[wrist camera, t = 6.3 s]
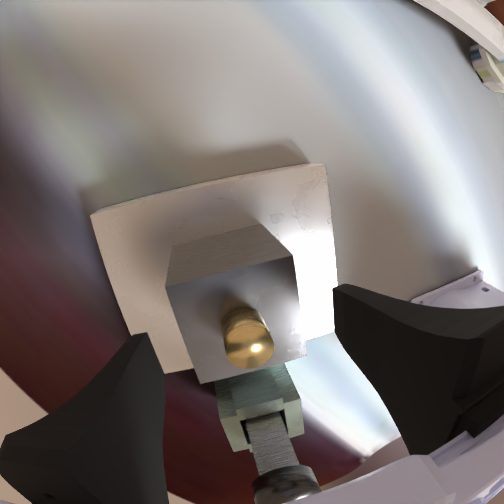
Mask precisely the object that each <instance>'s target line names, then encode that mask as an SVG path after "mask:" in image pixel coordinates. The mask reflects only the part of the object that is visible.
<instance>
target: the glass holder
mask: <svg viewBox="0 0 504 504" xmlns="http://www.w3.org/2000/svg"><path fill="white" fill-rule="evenodd" d="M476 1H477V2H478V3H479V4H480V5H482V6H483V7H485V5H486V4H487V3H488V2H490V1H494V0H476Z"/></svg>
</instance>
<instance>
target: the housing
mask: <svg viewBox="0 0 504 504" xmlns="http://www.w3.org/2000/svg"><path fill="white" fill-rule="evenodd" d="M165 289H166V292H167V295H168V298H169V301H170V304H171V307H172V310H173V313H174V316H175V319H176V322H177V324H178V327H179V330H180V333H181V335H182V338H183V341H184V343H185V346H186V349H187V351H188V354H189V357H190V359H191V362H192V364H193V367H194V369H195V372H196V374H197V377H198V379H199V382H200V384H202V383H207V382H211V381H216V380H220V379H224V378H228V377H233V376H237V375H241V374H244V373H248V372H252V371H256V370H260V369H263V368H267V367H270V366H274V365H277V364H281V363H284V362H288V361H291V360H294V359H297V358H301V357H304V356H307V353H306V345H305V337H304V329H303V321H302V313H301V306H300V298H299V291H298V284H297V277H296V270H295V263H294V257H293V254H292V253H291V252H290V251H289V250H288V249H287V248H286V247H285V246H284V245H283V244H282V243H281V242H280V241H279V240H278V239H277V238H276V237H275V236H274V235H272V234H271V233H270V232H269V231H268V230H267V229H266V228H265V227H264V226H263V225H262V224H258V225H254V226H249V227H245V228H241V229H237V230H233V231H228V232H224V233H220V234H216V235H212V236H208V237H204V238H200V239H196V240H192V241H188V242H184V243H180V244H176V245H172V250H171V255H170V260H169V266H168V271H167V277H166V283H165Z"/></svg>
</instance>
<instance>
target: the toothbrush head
mask: <svg viewBox="0 0 504 504" xmlns="http://www.w3.org/2000/svg"><path fill="white" fill-rule="evenodd" d="M414 1H415V2H417V3H419V4H421V5H422V6H424V7H426V8H428V9H429V10H431V11H433V12H434V13H436V14H437V15H439V16H441V17H442V18H444V19H445V20H447V21H448V22H450V23H451V24H453V25H454V26H456V27H457V28H458V29H460V30H461V31H463V32H464V33H465V34H467V35H468V36H470V37H471V38H472V39H474V40H475V42H474V43H473V44H471V45H470V59H471V62H472V65H473V68H474V70H476V71H477V73H478V74H479V75H480V77H481V78H482V80H483V81H482V84H484V85H485V86H486V87H487V88H489V89H490V90H491V91H492V92H501V93H504V26H503V25H502V24H501V23H500V22H499V21H498V20H497V19H496V18H495V17H494V16H493V15H491V14H490V13H489V12H488V11H487V10H486V9H485V8H484V7H483V6H482V5H480V4H479V3H478V2H477V1H476V0H414Z"/></svg>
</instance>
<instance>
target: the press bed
mask: <svg viewBox="0 0 504 504" xmlns="http://www.w3.org/2000/svg"><path fill="white" fill-rule="evenodd" d="M90 218H91V221H92V225H93V228H94V232H95V235H96V239H97V242H98V245H99V249H100V252H101V255H102V258H103V261H104V264H105V268H106V271H107V273H108V276H109V279H110V282H111V285H112V288H113V291H114V293H115V296H116V299H117V301H118V304H119V307H120V309H121V312H122V314H123V317H124V320H125V322H126V324H127V327H128V329H129V332H130V334H131V336H132V335H134V334H139V333H144V332H147V333H148V335H149V338H150V340H151V343H152V345H153V348H154V350H155V353H156V355H157V357H158V360H159V362H160V364H161V367H162V369H163V371H164V374H165V373H171V372H176V371H181V370H186V369H192V368H194V367H193V364H192V362H191V359H190V357H189V354H188V351H187V349H186V346H185V343H184V341H183V338H182V335H181V333H180V330H179V327H178V324H177V322H176V319H175V316H174V313H173V310H172V307H171V304H170V301H169V298H168V295H167V292H166V289H165V283H166V277H167V271H168V266H169V260H170V255H171V250H172V245H176V244H180V243H184V242H188V241H192V240H196V239H200V238H204V237H208V236H212V235H216V234H220V233H224V232H228V231H233V230H237V229H241V228H245V227H249V226H254V225H258V224H262V225H263V226H264V227H265V228H266V229H267V230H268V231H269V232H270V233H271V234H272V235H274V236H275V237H276V238H277V239H278V240H279V241H280V242H281V243H282V244H283V245H284V246H285V247H286V248H287V249H288V250H289V251H290V252H291V253H292V254H293V257H294V263H295V270H296V277H297V284H298V291H299V298H300V306H301V313H302V321H303V329H304V337H305V340H307V339H311V338H314V337H317V336H321V335H324V334H327V333H330V332H333V331H334V318H333V300H332V288H333V287H336V286H337V276H336V262H335V249H334V238H333V227H332V217H331V208H330V199H329V190H328V182H327V174H326V167H325V164H317V163H307V164H301V165H294V166H288V167H282V168H276V169H270V170H265V171H259V172H254V173H248V174H243V175H238V176H233V177H228V178H223V179H218V180H213V181H209V182H204V183H199V184H195V185H190V186H186V187H182V188H177V189H173V190H169V191H165V192H161V193H157V194H153V195H149V196H145V197H141V198H137V199H133V200H130V201H126V202H122V203H119V204H115V205H111V206H108V207H104V208H101V209H99V210H98V211H96V212H95V213H93V214H91V215H90ZM214 384H215V391H216V398H217V404H218V410H219V417H220V421H221V423H222V426H223V428H224V430H225V433H226V435H227V437H228V440H229V442H230V444H231V447H232V449H233V451H234V452H236V451H240V450H245V449H250V452H253V449H252V446H251V442H250V438H249V434H248V430H247V426H246V422H245V419H249V418H253V417H257V416H261V415H265V414H269V413H272V412H276V411H279V413H280V416H281V418H282V421H283V424H284V426H285V429H286V431H287V434H288V437H289V438H291V437H295V436H298V435H301V434H304V425H303V416H302V407H301V398H300V396H299V394H298V392H297V390H296V388H295V386H294V383H293V381H292V379H291V377H290V375H289V373H288V371H287V368H286V366H285V364H284V363H281V364H277V365H274V366H270V367H267V368H263V369H260V370H256V371H252V372H248V373H244V374H241V375H237V376H233V377H228V378H224V379H220V380H216V381H214Z"/></svg>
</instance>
